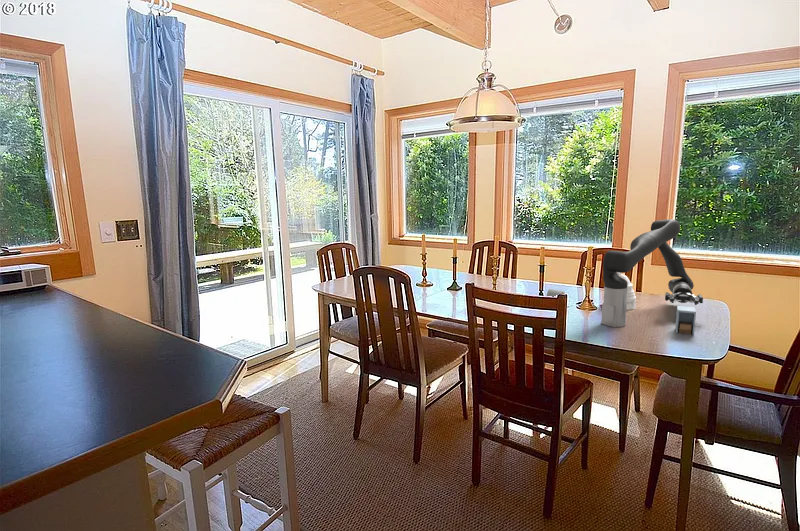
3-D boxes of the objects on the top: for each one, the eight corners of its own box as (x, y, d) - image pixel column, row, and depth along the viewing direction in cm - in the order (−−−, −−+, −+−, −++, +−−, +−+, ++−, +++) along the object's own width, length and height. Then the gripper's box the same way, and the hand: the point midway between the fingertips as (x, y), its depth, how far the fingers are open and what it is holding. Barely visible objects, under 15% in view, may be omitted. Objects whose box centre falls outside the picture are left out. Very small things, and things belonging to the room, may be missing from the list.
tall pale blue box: (694, 335, 174) (696, 311, 172) (676, 333, 177) (677, 310, 176) (692, 330, 180) (694, 307, 178) (675, 328, 183) (677, 305, 182)
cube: (690, 334, 176) (691, 325, 175) (679, 333, 178) (679, 323, 177) (690, 331, 179) (690, 322, 178) (678, 330, 181) (679, 321, 180)
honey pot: (603, 306, 219) (604, 272, 216) (613, 301, 228) (615, 268, 224) (629, 311, 210) (631, 275, 206) (639, 305, 218) (641, 271, 215)
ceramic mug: (561, 305, 224) (562, 291, 223) (546, 304, 229) (546, 290, 227) (566, 301, 233) (567, 287, 231) (551, 299, 237) (551, 286, 236)
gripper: (665, 284, 204) (665, 292, 190) (701, 286, 197) (704, 294, 183) (664, 299, 205) (664, 308, 192) (700, 301, 198) (703, 311, 184)
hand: (684, 301), depth 187 cm, fingers open, 8 cm apart
